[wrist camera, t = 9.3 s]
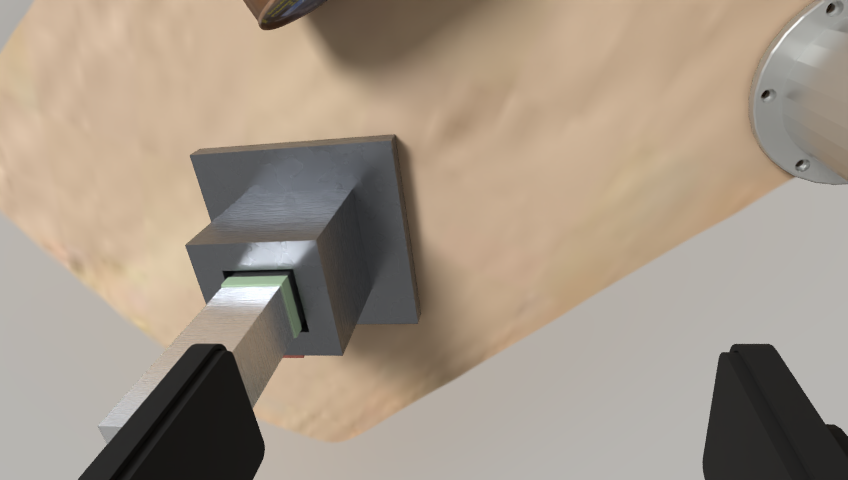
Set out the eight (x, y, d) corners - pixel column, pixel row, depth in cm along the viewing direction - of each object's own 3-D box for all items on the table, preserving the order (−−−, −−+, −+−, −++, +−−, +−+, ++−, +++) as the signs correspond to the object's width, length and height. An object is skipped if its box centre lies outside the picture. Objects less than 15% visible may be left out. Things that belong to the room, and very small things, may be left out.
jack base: (394, 134, 40) (360, 184, 31) (420, 313, 47) (398, 394, 38) (199, 149, 43) (118, 198, 34) (251, 315, 50) (195, 390, 41)
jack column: (304, 251, 38) (178, 427, 24) (317, 302, 39) (206, 492, 25) (249, 253, 38) (94, 424, 24) (264, 303, 40) (128, 487, 26)
